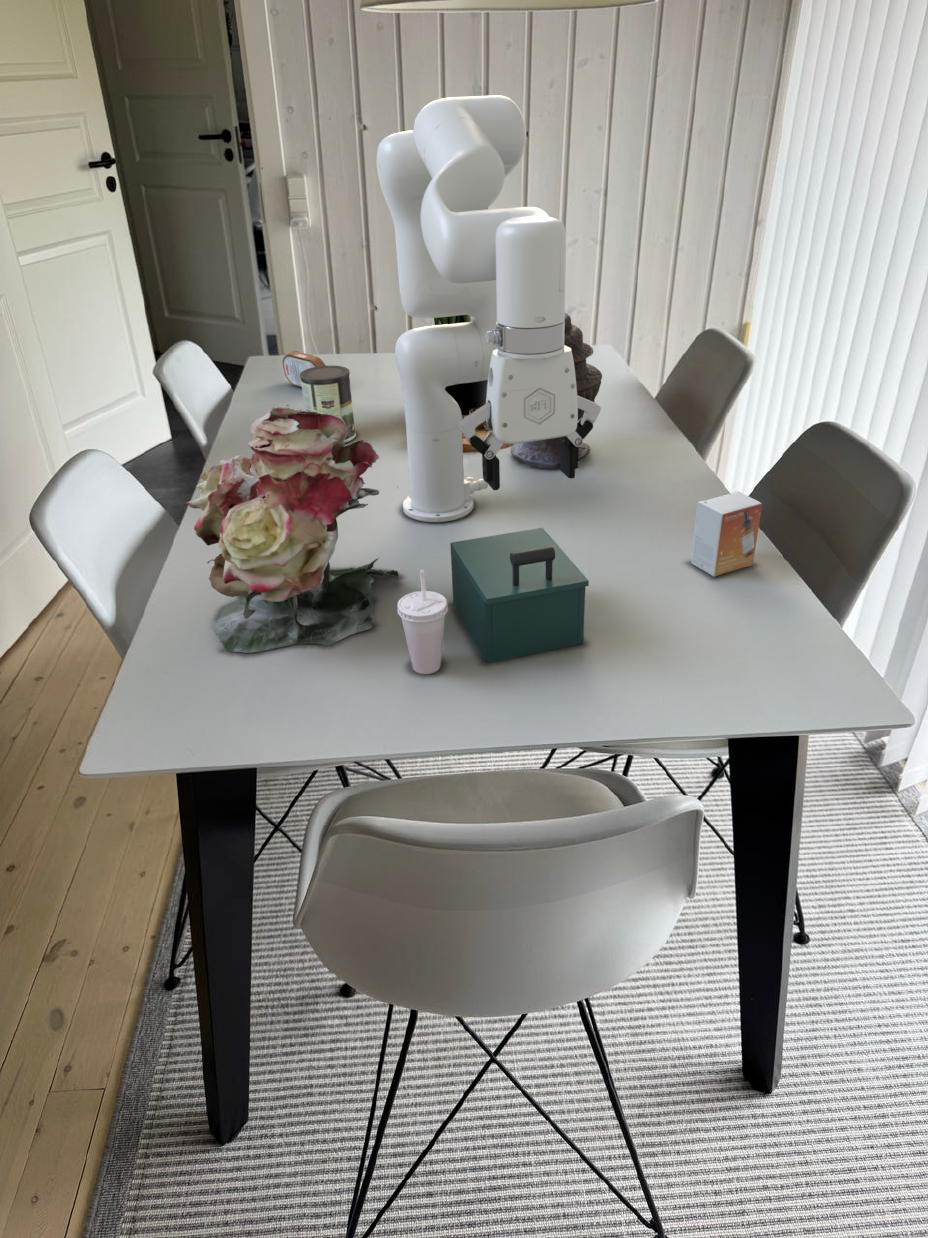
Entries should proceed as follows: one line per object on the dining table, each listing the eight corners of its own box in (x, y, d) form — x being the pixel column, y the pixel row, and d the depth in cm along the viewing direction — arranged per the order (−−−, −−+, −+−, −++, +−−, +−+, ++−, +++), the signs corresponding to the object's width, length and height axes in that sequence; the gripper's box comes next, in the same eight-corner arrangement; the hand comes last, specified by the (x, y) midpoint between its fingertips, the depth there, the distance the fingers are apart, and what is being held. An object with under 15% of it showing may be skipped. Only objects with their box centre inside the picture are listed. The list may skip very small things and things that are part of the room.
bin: (583, 643, 122) (585, 583, 117) (486, 663, 119) (484, 601, 114) (541, 589, 135) (542, 532, 130) (453, 605, 132) (450, 547, 127)
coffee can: (342, 425, 200) (335, 362, 193) (364, 438, 193) (358, 372, 186) (299, 436, 195) (291, 371, 188) (321, 449, 188) (312, 382, 181)
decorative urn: (594, 431, 189) (594, 257, 169) (609, 475, 173) (611, 287, 153) (497, 439, 190) (486, 267, 170) (503, 484, 173) (491, 298, 153)
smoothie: (458, 658, 120) (454, 565, 113) (437, 684, 115) (431, 589, 108) (416, 648, 123) (409, 557, 115) (393, 673, 118) (384, 579, 110)
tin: (332, 391, 222) (328, 357, 217) (322, 395, 220) (318, 360, 215) (292, 381, 230) (288, 347, 226) (283, 384, 228) (278, 350, 224)
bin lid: (588, 586, 117) (590, 548, 114) (486, 604, 113) (485, 566, 111) (542, 532, 130) (542, 497, 127) (450, 547, 127) (448, 512, 124)
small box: (713, 578, 136) (721, 514, 131) (689, 563, 141) (696, 501, 135) (754, 565, 139) (763, 502, 134) (729, 551, 144) (737, 489, 138)
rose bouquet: (222, 570, 144) (185, 384, 128) (405, 567, 142) (390, 379, 127) (173, 661, 122) (121, 450, 106) (388, 659, 121) (368, 444, 105)
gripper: (466, 354, 96) (471, 502, 105) (615, 336, 100) (608, 481, 109) (447, 338, 102) (454, 479, 111) (588, 322, 106) (584, 460, 115)
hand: (530, 480), depth 110 cm, fingers open, 9 cm apart
